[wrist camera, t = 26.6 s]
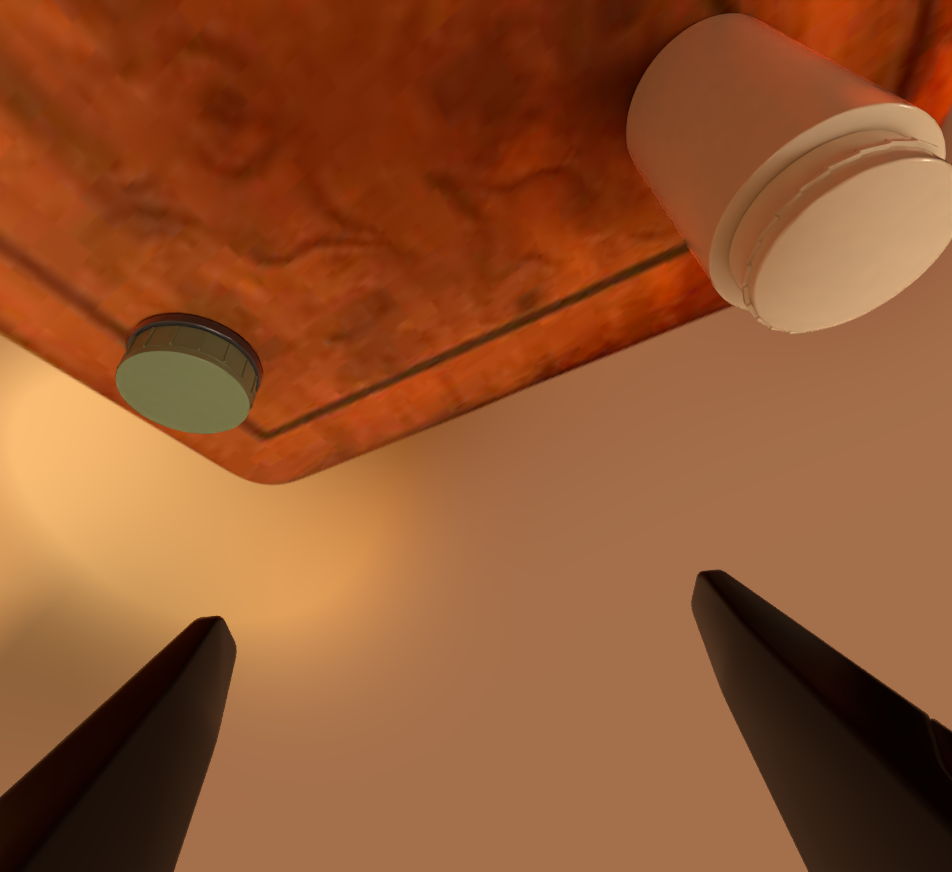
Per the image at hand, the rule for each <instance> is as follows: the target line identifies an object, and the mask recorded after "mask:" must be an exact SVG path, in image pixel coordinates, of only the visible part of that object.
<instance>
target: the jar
mask: <svg viewBox="0 0 952 872" xmlns="http://www.w3.org/2000/svg"><path fill="white" fill-rule="evenodd" d="M626 140H627V147H628V152H629V155H630V158H631V160H632V162H633V164H634V166H635V167H636V169H637V170H638V172H639V174H640V175H641V177H642V178H643V180H644V181H645V183H646V184H647V186H648V187H649V189H650V190H651V192H652V193H653V195H654V196H655V198H656V200H657V201H658V203H659V204H660V206H661V207H662V209H663V210H664V212H665V213H666V215H667V216H668V218H669V219H670V221H671V222H672V224H673V225H674V227H675V229H676V230H677V232H678V233H679V235H680V236H681V238H682V239H683V241H684V242H685V244H686V245H687V247H688V248H689V250H690V251H691V253H692V254H693V256H694V258H695V259H696V261H697V262H698V264H699V265H700V267H701V268H702V270H703V271H704V273H705V274H706V276H707V277H708V279H709V280H710V282H711V284H712V285H713V287H714V288H715V290H716V291H717V292H718V294H719V295H720V296H721V297H722V298H723V299H724V300H726V301H727V302H729V303H730V304H732V305H734V306H736V307H738V308H742V309H745V310H749V311H750V312H751V314H752V315H753V317H754V318H755V319H756V321H758V322H760V323H762V324H764V325H766V326H767V327H769V328H770V329H771V330H778V331H784V332H788V333H789V334H795V333H804V332H811V331H816V330H822V329H826V328H830V327H834V326H837V325H840V324H843V323H845V322H848V321H851V320H853V319H855V318H858V317H860V316H862V315H864V314H866V313H868V312H870V311H872V310H874V309H875V308H877V307H879V306H881V305H882V304H884V303H886V302H887V301H889V300H890V299H892V298H893V297H895V296H896V295H898V294H899V293H900V292H902V291H903V290H904V289H905V288H907V287H908V286H909V285H911V284H912V283H913V282H914V281H915V280H916V279H917V278H919V277H920V276H921V275H922V274H923V273H924V272H925V271H926V270H927V269H928V268H929V267H930V266H931V265H932V264H933V263H934V262H935V260H936V259H937V258H938V257H939V256H940V254H941V253H942V252H943V251H944V249H945V248H946V247H947V245H948V244H949V243H950V241H951V239H952V164H950V163H948V162H947V161H945V156H946V151H945V140H944V137H943V134H942V131H941V128H940V127H939V125H938V124H937V122H936V121H935V119H934V118H933V117H931V116H930V115H929V114H928V113H927V112H926V111H924V110H922V109H920V108H918V107H917V106H915V105H913V104H911V103H909V102H907V101H906V100H904V99H902V98H900V97H898V96H897V95H895V94H893V93H891V92H889V91H888V90H886V89H884V88H882V87H880V86H878V85H877V84H875V83H873V82H871V81H869V80H868V79H866V78H864V77H862V76H860V75H859V74H857V73H855V72H853V71H851V70H849V69H848V68H846V67H844V66H842V65H840V64H839V63H837V62H835V61H833V60H831V59H830V58H828V57H826V56H824V55H822V54H820V53H819V52H817V51H815V50H813V49H811V48H810V47H808V46H806V45H804V44H802V43H801V42H799V41H797V40H795V39H793V38H791V37H790V36H788V35H786V34H784V33H782V32H781V31H779V30H777V29H775V28H773V27H772V26H770V25H768V24H766V23H764V22H762V21H761V20H759V19H757V18H755V17H753V16H749V15H746V14H739V13H728V14H720V15H717V16H713V17H709V18H707V19H705V20H702V21H700V22H698V23H696V24H694V25H692V26H691V27H689V28H687V29H686V30H684V31H683V32H682V33H680V34H679V35H677V36H676V37H675V38H674V39H673V40H672V41H671V42H669V43H668V44H667V45H666V46H665V47H664V48H663V49H662V50H661V52H660V53H659V54H658V55H657V56H656V57H655V59H654V60H653V61H652V63H651V64H650V65H649V67H648V68H647V70H646V71H645V73H644V75H643V76H642V78H641V80H640V82H639V84H638V86H637V88H636V90H635V93H634V96H633V98H632V101H631V104H630V108H629V112H628V117H627V123H626Z"/></svg>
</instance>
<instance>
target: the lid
mask: <svg viewBox="0 0 952 872" xmlns="http://www.w3.org/2000/svg"><path fill="white" fill-rule="evenodd" d="M115 379H116V385H117V388H118V390H119V392H120V394H121V396H122V397H123V398H124V400H125V401H126V402H127V403H128V404H129V405H130V406H131V407H132V408H133V409H135V410H136V411H137V412H139V413H140V414H141V415H143V416H145V417H146V418H148V419H150V420H152V421H154V422H156V423H158V424H160V425H163V426H166V427H169V428H172V429H175V430H179V431H184V432H189V433H200V434H211V433H219V432H224V431H227V430H230V429H233V428H235V427H237V426H238V425H239V424H241V423H242V422H243V421H244V420H245V419H246V417H247V415H248V413H249V410H250V409H251V408H252V405H253V402H254V398H255V394H256V390H255V389H256V383H257V382H256V380H257V376H256V374H255V371H254V369H253V367H252V365H251V363H250V362H249V359H247V358H246V357H245V355H244V354H243V353H242V352H241V351H239V350H238V349H237V348H236V347H235V346H233V345H232V344H231V343H229V342H227V341H226V340H224V339H222V338H220V337H218V336H216V335H214V334H211V333H209V332H206V331H203V330H200V329H196V328H191V327H186V326H180V325H177V326H159V327H152V328H151V329H149V330H146V331H144V332H142V333H141V334H139V335H138V336H134V338H133V340H132V341H131V343H130V345H129V347H128V349H127V350H126V352H125V354H124V356H123V358H122V360H121V362H120V364H119V365H118V367H117V372H116V378H115Z"/></svg>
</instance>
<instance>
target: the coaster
mask: <svg viewBox="0 0 952 872" xmlns="http://www.w3.org/2000/svg"><path fill="white" fill-rule="evenodd" d="M177 325H180V326H186V327H191V328H196V329H200V330H203V331H206V332H209V333H211V334H214V335H216V336H218V337H220V338H222V339H224V340H226V341H227V342H229V343H231V344H232V345H233V346H235V347H236V348H237V349H238V350H239V351H241V352H242V353H243V354H244V355H245V357H246V358H247V359H249V362H250V363H251V365H252V367H253V369H254V371H255V374H256V376H257V380H256V382H257V383H256V389H255V390H256V392H257V391H258V388H259V386H260V382H261V378H262V369H261V364H260V362H259V359H258V357H257V355H256V353H255V352H254V351H253V349H252V348H251V347H250V346H249V345H248V344H247V343H246V342H245V341H244V340H243V339H242V338H241V337H240V336H238V335H237V334H235V333H234V332H233V331H231V330H229V329H228V328H226V327H224V326H222V325H220V324H218V323H216V322H213V321H210V320H208V319H204V318H201V317H197V316H192V315H185V314H163V315H158V316H154V317H151V318H149V319H146V320H144V321H143V322H141V323H140V324H139V325H137V326H136V327H135V329H134V330H133V331H132V333H131V335H130V337H129V339H128V341H127V344H126V350H127V349H128V347H129V345H130V343H131V341H132V340H133V338H134V336H138V335H139V334H141V333H142V332H144V331H146V330H149V329H151V328H152V327H159V326H177Z"/></svg>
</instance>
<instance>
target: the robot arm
mask: <svg viewBox="0 0 952 872" xmlns="http://www.w3.org/2000/svg"><path fill="white" fill-rule="evenodd" d="M691 606H692V611H693V615H694V618H695V620H696V623H697V625H698V629H699V631H700V634H701V637H702V639H703V642H704V645H705V648H706V651H707V653H708V656H709V659H710V661H711V664H712V667H713V670H714V672H715V675H716V678H717V681H718V683H719V686H720V688H721V691H722V693H723V695H724V698H725V700H726V702H727V704H728V706H729V708H730V710H731V712H732V714H733V717H734V719H735V721H736V723H737V725H738V727H739V729H740V731H741V733H742V735H743V737H744V739H745V742H746V744H747V745H748V748H749V750H750V752H751V754H752V756H753V758H754V760H755V762H756V764H757V766H758V768H759V771H760V773H761V774H762V777H763V779H764V781H765V783H766V785H767V787H768V789H769V791H770V793H771V795H772V797H773V799H774V801H775V803H776V806H777V807H778V810H779V812H780V814H781V816H782V818H783V820H784V822H785V824H786V826H787V828H788V830H789V833H790V835H791V837H792V838H793V841H794V843H795V845H796V847H797V849H798V851H799V853H800V855H801V857H802V859H803V862H804V864H805V866H806V868H807V870H808V872H952V731H951V730H950V729H948V728H947V727H945V726H944V725H942V724H941V723H940V722H938V721H937V720H935V719H930V718H929V716H928V714H926V713H925V712H924V711H922V710H921V709H919V708H918V707H917V706H915V705H914V704H912V703H911V702H909V701H908V700H907V699H905V698H904V697H902V696H901V695H899V694H898V693H897V692H895V691H894V690H892V689H891V688H889V687H888V686H887V685H885V684H884V683H882V682H881V681H880V680H878V679H877V678H875V677H874V676H872V675H871V674H870V673H868V672H867V671H865V670H864V669H862V668H861V667H860V666H858V665H857V664H855V663H854V662H853V661H851V660H850V659H848V658H847V657H845V656H844V655H843V654H841V653H840V652H838V651H837V650H835V649H834V648H833V647H831V646H830V645H828V644H827V643H825V642H824V641H823V640H821V639H820V638H818V637H817V636H816V635H814V634H813V633H811V632H810V631H808V630H807V629H805V628H804V627H803V626H801V625H800V624H798V623H797V622H796V621H794V620H793V619H791V618H790V617H788V616H787V615H786V614H784V613H783V612H781V611H780V610H778V609H777V608H776V607H774V606H773V605H771V604H770V603H769V602H767V601H766V600H764V599H763V598H761V597H760V596H759V595H757V594H756V593H754V592H753V591H751V590H750V589H749V588H747V587H746V586H744V585H743V584H742V583H740V582H739V581H737V580H735V579H734V578H733V577H731V576H730V575H729V574H727V573H726V572H724V571H722V570H709V571H701V572H700V573H699V574H698V575H697V579H696V583H695V587H694V591H693V596H692V601H691ZM235 658H236V644H235V641H234V639H233V637H232V635H231V633H230V631H229V629H228V626H227V624H226V622H225V621H224V619H223V618H221V617H220V616H211V617H201V618H198V619H196V620H195V621H193V622H192V623H191V624H190V625H189V626H188V627H187V628H185V629H184V630H183V632H181V633H180V634H179V635H178V636H177V637H176V638H175V639H173V640H172V641H171V642H170V643H169V644H168V645H167V646H166V647H165V648H164V649H163V650H161V651H160V652H159V653H158V654H157V655H156V656H155V657H154V658H153V659H151V660H150V661H149V662H148V663H147V664H146V665H145V666H144V667H143V668H142V669H140V670H139V671H138V672H137V673H136V674H135V675H134V676H133V677H132V678H131V679H130V680H128V682H126V683H125V684H124V685H123V686H122V687H121V688H120V689H119V690H117V691H116V692H115V693H114V694H113V695H112V696H111V697H110V698H109V699H108V700H106V701H105V702H104V703H103V704H102V705H101V706H100V707H99V708H98V709H97V710H96V711H94V712H93V713H92V714H91V715H90V716H89V717H88V718H87V719H86V720H84V721H83V722H82V723H81V724H80V725H79V726H78V727H77V728H76V729H75V730H74V731H72V732H71V733H70V734H69V735H68V736H67V737H66V738H65V739H64V740H63V741H61V742H60V743H59V744H58V745H57V746H56V747H55V748H54V749H53V750H52V751H50V752H49V753H48V754H47V755H46V756H45V757H44V758H43V759H42V760H41V761H39V763H37V764H36V765H35V766H34V767H33V768H32V769H31V770H30V771H28V772H27V773H26V774H25V775H24V776H23V777H22V778H21V779H20V780H19V781H18V782H16V783H15V784H14V785H13V786H12V787H11V788H10V789H9V790H8V791H7V792H5V793H4V794H3V795H2V796H1V797H0V872H174V869H175V866H176V863H177V860H178V857H179V854H180V851H181V848H182V845H183V842H184V839H185V836H186V833H187V830H188V827H189V824H190V821H191V818H192V815H193V812H194V809H195V806H196V803H197V800H198V797H199V794H200V790H201V787H202V785H203V782H204V779H205V776H206V773H207V770H208V767H209V763H210V761H211V757H212V755H213V751H214V748H215V745H216V742H217V738H218V733H219V730H220V725H221V721H222V717H223V712H224V708H225V703H226V699H227V694H228V690H229V686H230V681H231V677H232V672H233V667H234V663H235Z"/></svg>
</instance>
